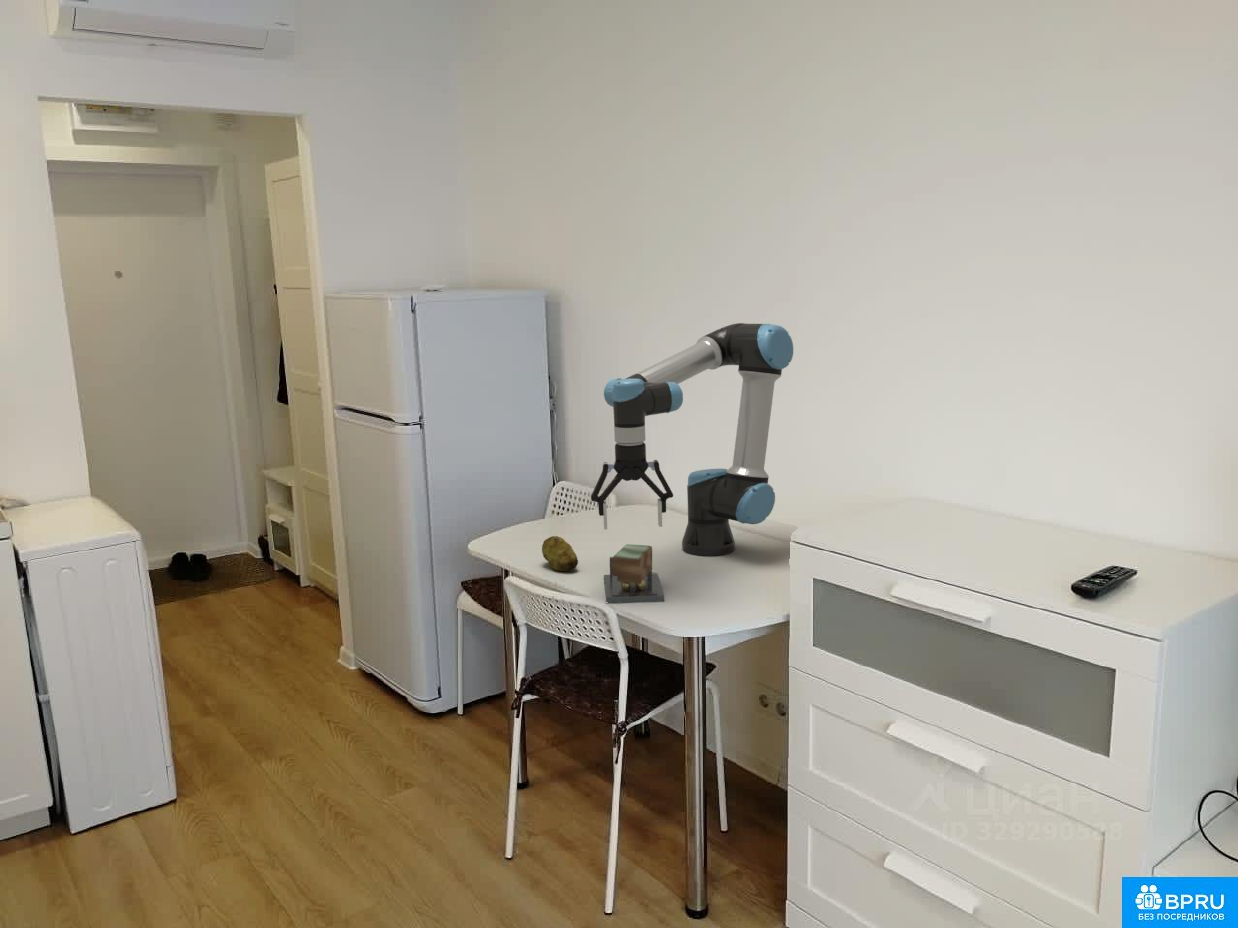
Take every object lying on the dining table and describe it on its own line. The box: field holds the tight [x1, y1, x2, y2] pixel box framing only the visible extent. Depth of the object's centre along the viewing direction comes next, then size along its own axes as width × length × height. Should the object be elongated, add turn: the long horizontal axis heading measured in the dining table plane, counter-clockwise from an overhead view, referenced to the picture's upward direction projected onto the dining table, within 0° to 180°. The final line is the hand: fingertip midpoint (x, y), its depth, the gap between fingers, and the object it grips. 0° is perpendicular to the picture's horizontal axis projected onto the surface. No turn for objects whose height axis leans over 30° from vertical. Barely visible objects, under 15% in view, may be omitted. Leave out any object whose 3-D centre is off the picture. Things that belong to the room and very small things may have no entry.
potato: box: [541, 535, 579, 572], centre depth 265 cm, size 8×13×8 cm, turn 16°
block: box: [611, 543, 653, 583], centre depth 244 cm, size 12×7×6 cm, turn 163°
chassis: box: [603, 556, 665, 604], centre depth 245 cm, size 18×14×6 cm
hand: (633, 526), depth 242 cm, fingers open, 13 cm apart
